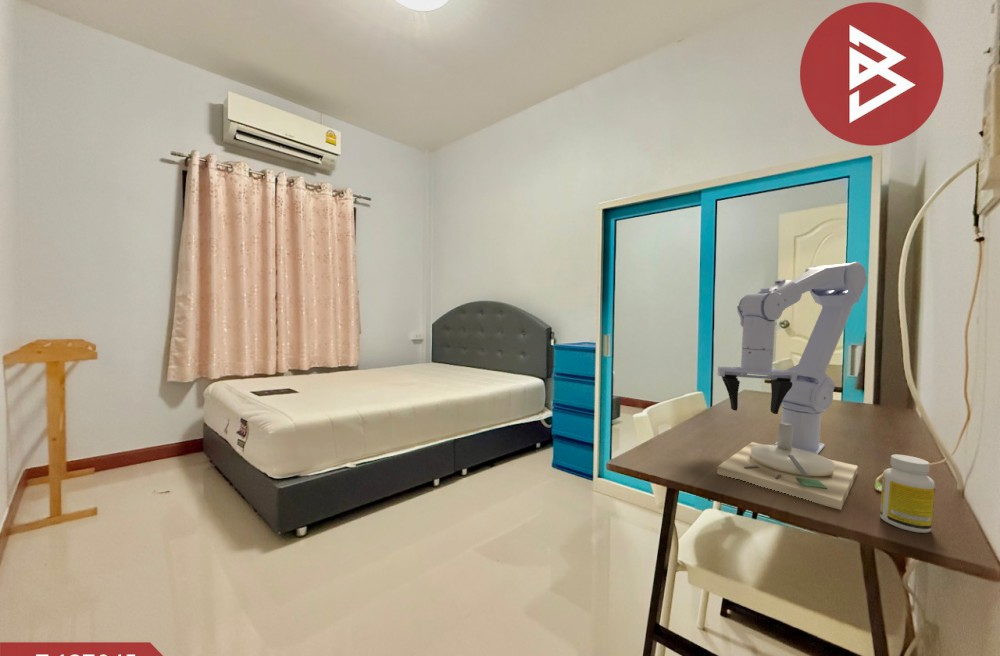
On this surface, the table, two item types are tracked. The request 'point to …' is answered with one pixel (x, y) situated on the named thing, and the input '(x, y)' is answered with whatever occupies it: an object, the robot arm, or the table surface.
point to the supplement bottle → (908, 494)
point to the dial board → (792, 479)
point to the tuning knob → (791, 456)
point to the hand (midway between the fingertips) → (753, 411)
